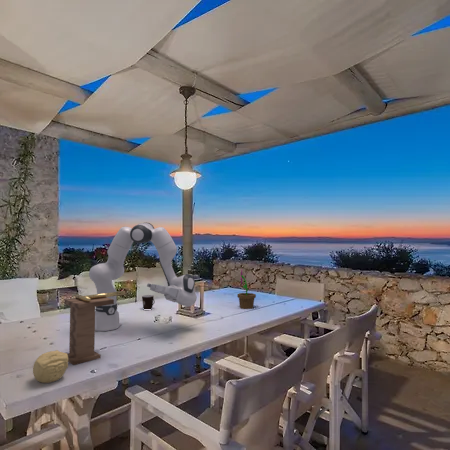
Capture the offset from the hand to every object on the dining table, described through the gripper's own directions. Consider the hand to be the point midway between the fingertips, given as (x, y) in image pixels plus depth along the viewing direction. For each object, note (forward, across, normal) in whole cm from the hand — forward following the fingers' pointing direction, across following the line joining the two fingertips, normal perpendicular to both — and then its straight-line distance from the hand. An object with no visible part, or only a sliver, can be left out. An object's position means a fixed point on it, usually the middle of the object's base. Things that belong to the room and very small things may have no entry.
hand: (151, 285), depth 185 cm
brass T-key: (+26, +7, +14) cm, 30 cm away
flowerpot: (-97, -24, -11) cm, 101 cm away
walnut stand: (+22, +7, +40) cm, 46 cm away
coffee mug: (-38, -64, +12) cm, 76 cm away
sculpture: (+39, +23, +49) cm, 67 cm away
